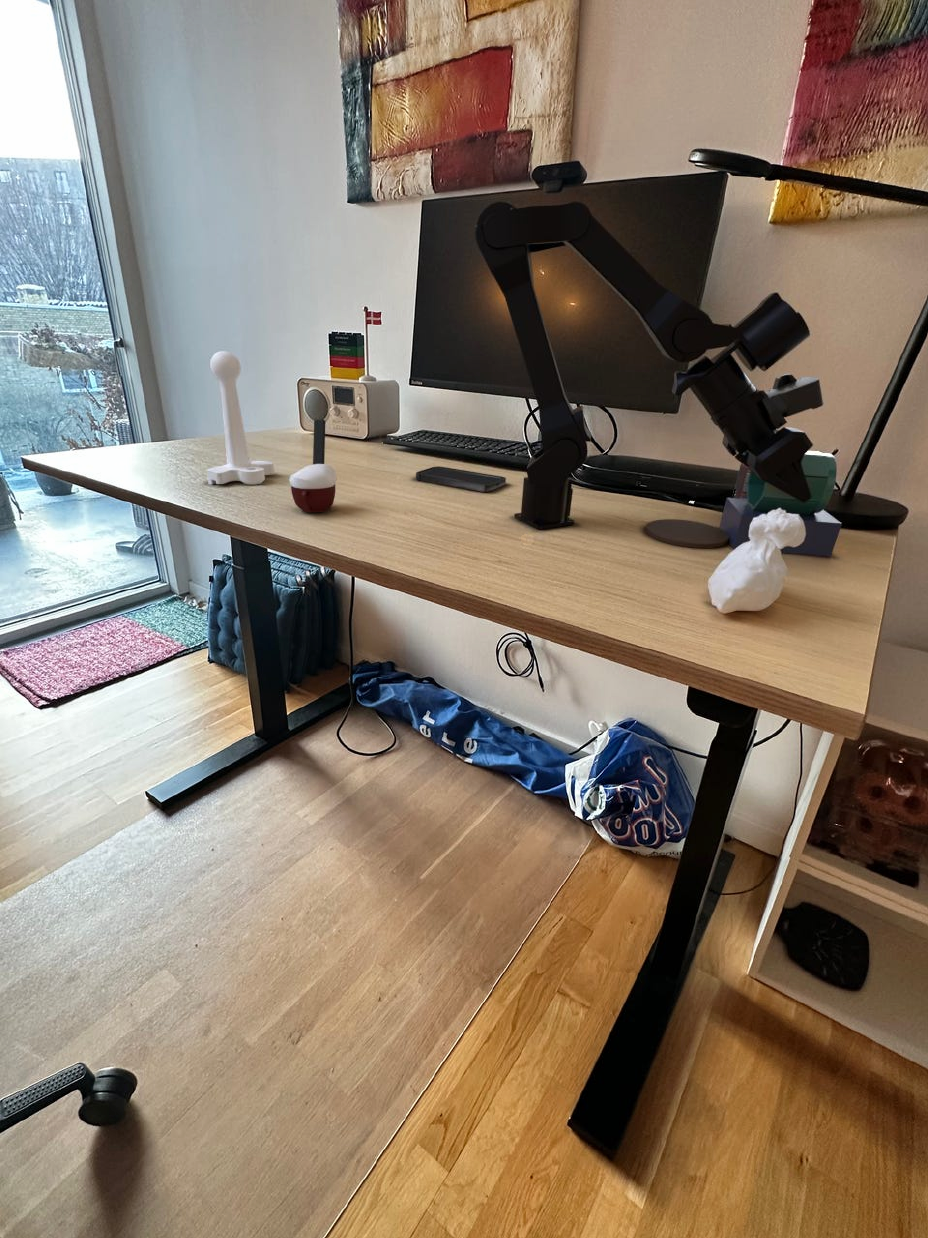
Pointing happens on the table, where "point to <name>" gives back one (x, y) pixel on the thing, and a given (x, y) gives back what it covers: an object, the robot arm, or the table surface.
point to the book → (817, 525)
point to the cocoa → (315, 477)
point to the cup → (769, 498)
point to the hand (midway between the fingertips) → (797, 492)
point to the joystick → (234, 429)
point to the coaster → (687, 533)
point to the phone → (461, 478)
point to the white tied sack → (756, 564)
